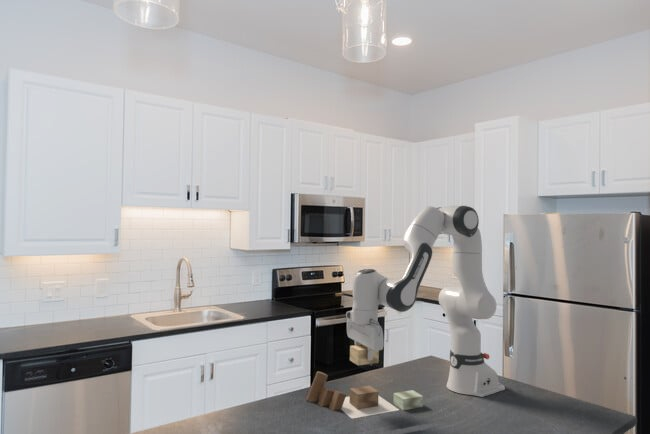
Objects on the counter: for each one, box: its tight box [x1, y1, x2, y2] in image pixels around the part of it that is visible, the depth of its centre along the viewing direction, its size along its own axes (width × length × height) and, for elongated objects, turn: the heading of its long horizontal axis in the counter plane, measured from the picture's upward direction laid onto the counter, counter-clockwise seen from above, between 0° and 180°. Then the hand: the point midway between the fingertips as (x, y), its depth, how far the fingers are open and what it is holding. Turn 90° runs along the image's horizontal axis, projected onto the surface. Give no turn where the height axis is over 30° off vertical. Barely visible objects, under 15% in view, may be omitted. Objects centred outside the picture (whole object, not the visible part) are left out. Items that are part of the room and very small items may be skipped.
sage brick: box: [392, 389, 424, 411], centre depth 154 cm, size 8×6×5 cm
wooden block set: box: [306, 370, 347, 411], centre depth 157 cm, size 18×9×10 cm, turn 29°
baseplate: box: [340, 395, 400, 420], centre depth 154 cm, size 18×17×1 cm
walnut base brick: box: [349, 385, 380, 410], centre depth 154 cm, size 8×6×5 cm
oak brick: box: [349, 344, 380, 366], centre depth 154 cm, size 8×6×5 cm
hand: (364, 356), depth 154 cm, fingers closed on oak brick, 6 cm apart
